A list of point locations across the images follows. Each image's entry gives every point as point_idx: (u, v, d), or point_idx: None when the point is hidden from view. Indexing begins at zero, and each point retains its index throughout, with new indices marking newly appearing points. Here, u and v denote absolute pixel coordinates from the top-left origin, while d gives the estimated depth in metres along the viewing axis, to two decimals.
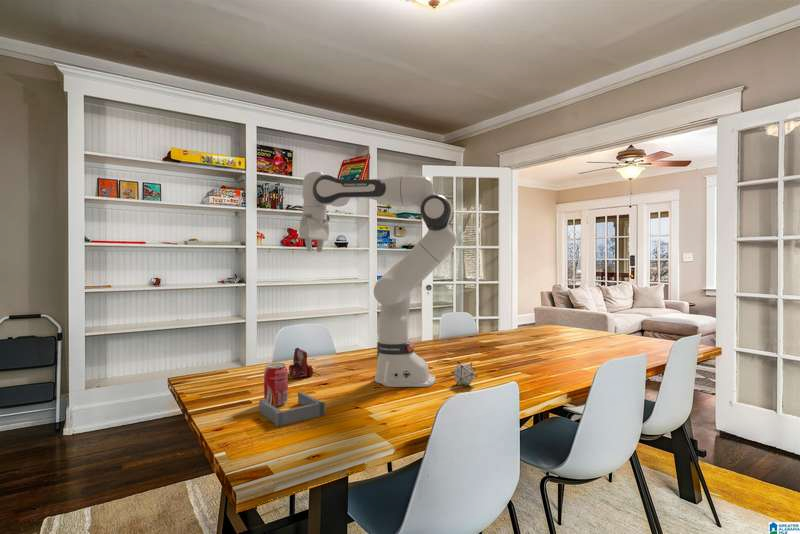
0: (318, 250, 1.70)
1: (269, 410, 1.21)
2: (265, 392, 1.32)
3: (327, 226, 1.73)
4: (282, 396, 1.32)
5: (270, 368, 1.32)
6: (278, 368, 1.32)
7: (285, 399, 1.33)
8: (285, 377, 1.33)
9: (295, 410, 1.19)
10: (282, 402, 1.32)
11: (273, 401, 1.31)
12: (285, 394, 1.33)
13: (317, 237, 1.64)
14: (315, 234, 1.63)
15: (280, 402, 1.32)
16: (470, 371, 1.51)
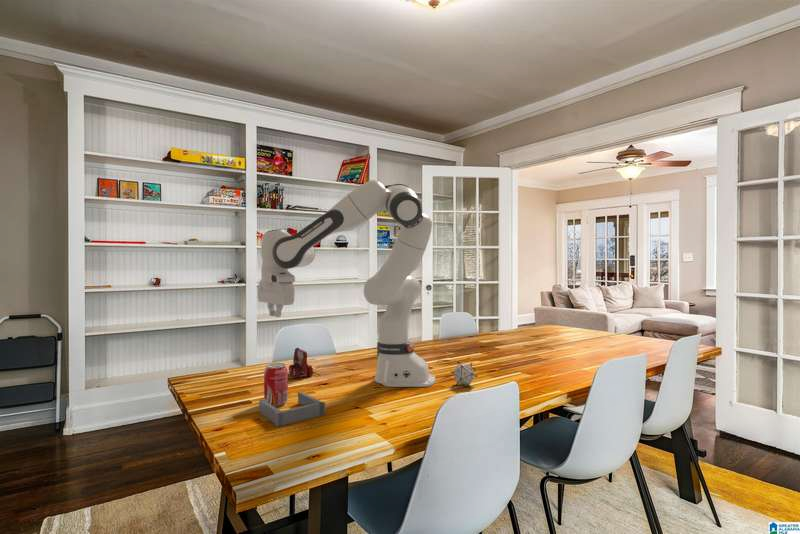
0: None
1: (269, 410, 1.21)
2: (265, 392, 1.32)
3: (280, 288, 1.43)
4: (282, 396, 1.32)
5: (270, 368, 1.32)
6: (278, 368, 1.32)
7: (285, 399, 1.33)
8: (285, 377, 1.33)
9: (295, 410, 1.19)
10: (282, 402, 1.32)
11: (273, 401, 1.31)
12: (285, 394, 1.33)
13: (268, 301, 1.50)
14: (266, 297, 1.51)
15: (280, 402, 1.32)
16: (470, 371, 1.51)
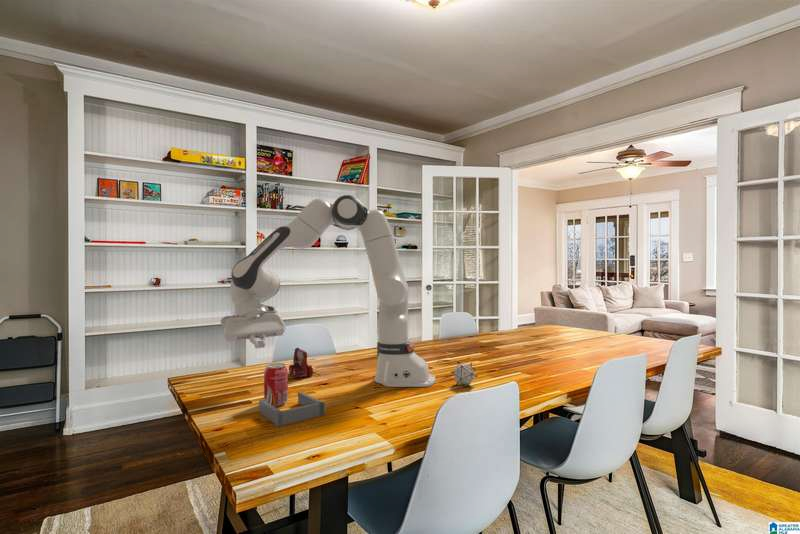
0: None
1: (269, 410, 1.21)
2: (265, 392, 1.32)
3: (276, 317, 1.53)
4: (282, 396, 1.32)
5: (270, 368, 1.32)
6: (278, 368, 1.32)
7: (285, 399, 1.33)
8: (285, 377, 1.33)
9: (295, 410, 1.19)
10: (282, 402, 1.32)
11: (273, 401, 1.31)
12: (285, 394, 1.33)
13: (253, 331, 1.45)
14: (248, 328, 1.45)
15: (280, 402, 1.32)
16: (470, 371, 1.51)
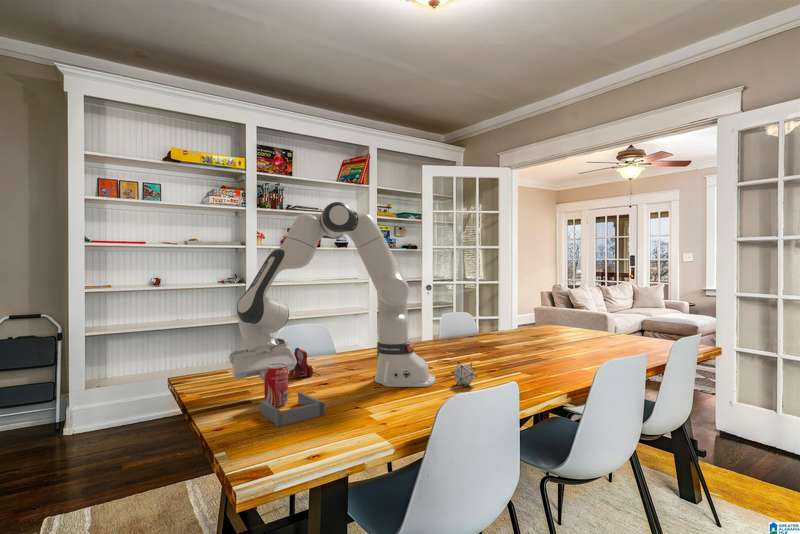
0: None
1: (269, 410, 1.21)
2: (265, 392, 1.32)
3: (287, 350, 1.46)
4: (282, 396, 1.32)
5: (271, 368, 1.31)
6: (279, 368, 1.32)
7: (285, 399, 1.33)
8: (286, 377, 1.33)
9: (295, 410, 1.19)
10: (283, 402, 1.32)
11: (274, 401, 1.31)
12: (286, 394, 1.33)
13: (263, 367, 1.38)
14: (257, 364, 1.38)
15: (281, 402, 1.31)
16: (470, 371, 1.51)
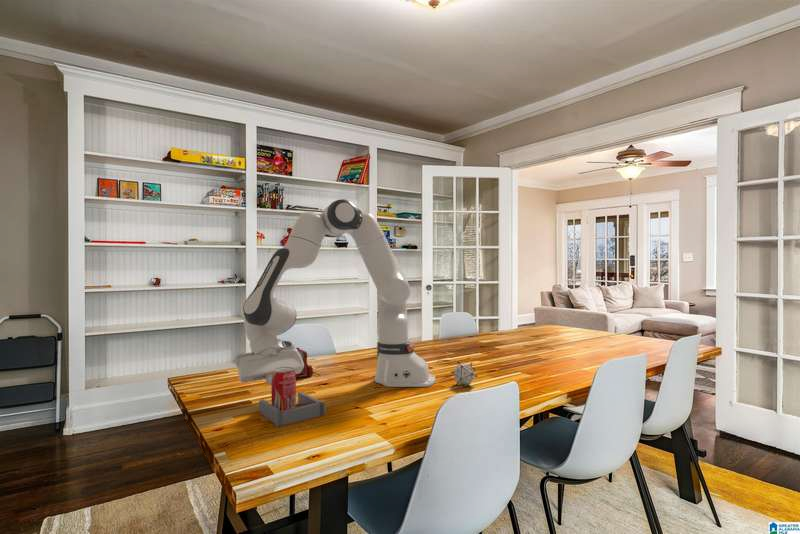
0: None
1: (269, 410, 1.21)
2: (273, 397, 1.27)
3: (294, 353, 1.42)
4: (290, 401, 1.27)
5: (278, 372, 1.27)
6: (286, 372, 1.27)
7: (293, 404, 1.28)
8: (293, 381, 1.28)
9: (295, 410, 1.19)
10: (290, 407, 1.27)
11: (281, 406, 1.26)
12: (293, 399, 1.28)
13: (270, 370, 1.34)
14: (264, 368, 1.33)
15: (288, 407, 1.27)
16: (470, 371, 1.51)
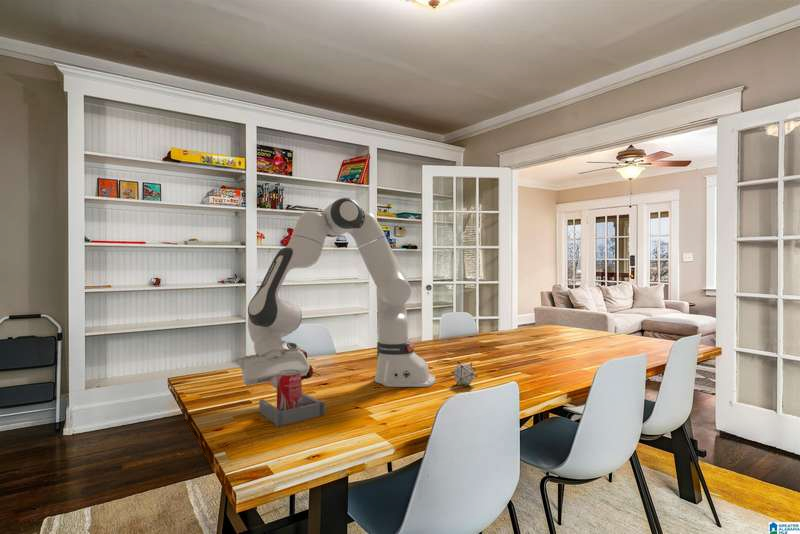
0: None
1: (269, 410, 1.21)
2: (278, 401, 1.24)
3: (299, 355, 1.39)
4: (296, 405, 1.24)
5: (284, 375, 1.23)
6: (292, 375, 1.24)
7: None
8: (300, 384, 1.25)
9: (295, 410, 1.19)
10: None
11: None
12: (299, 402, 1.25)
13: (275, 373, 1.30)
14: (269, 370, 1.30)
15: None
16: (470, 371, 1.51)
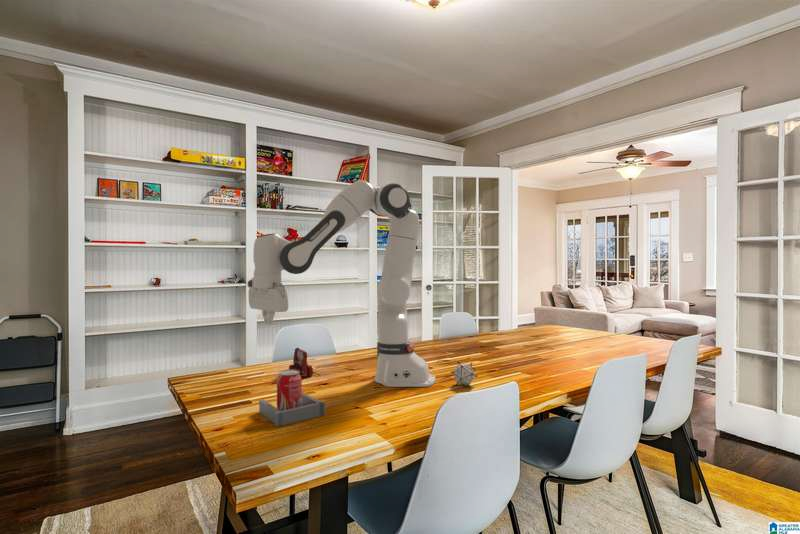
0: None
1: (269, 410, 1.21)
2: (278, 401, 1.24)
3: None
4: (297, 405, 1.24)
5: (284, 375, 1.23)
6: (292, 375, 1.24)
7: None
8: (300, 384, 1.25)
9: (295, 410, 1.19)
10: None
11: None
12: (300, 402, 1.25)
13: None
14: None
15: None
16: (470, 371, 1.51)
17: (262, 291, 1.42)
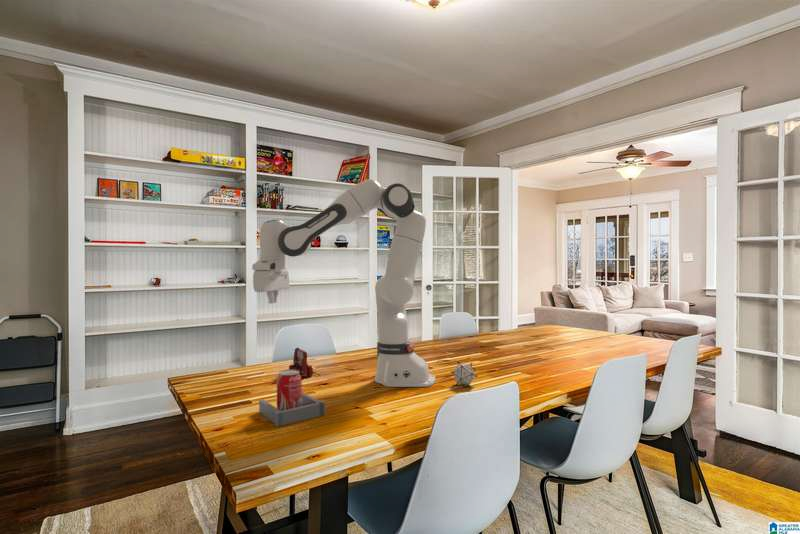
0: None
1: (269, 410, 1.21)
2: (278, 401, 1.24)
3: None
4: (296, 405, 1.24)
5: (284, 375, 1.23)
6: (292, 375, 1.24)
7: None
8: (299, 384, 1.25)
9: (295, 410, 1.19)
10: None
11: None
12: (300, 402, 1.25)
13: None
14: None
15: None
16: (470, 371, 1.51)
17: (281, 272, 1.58)
